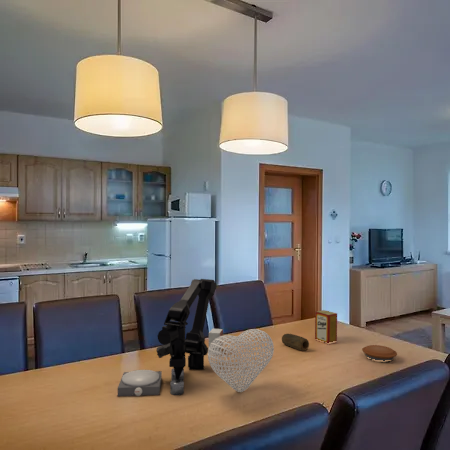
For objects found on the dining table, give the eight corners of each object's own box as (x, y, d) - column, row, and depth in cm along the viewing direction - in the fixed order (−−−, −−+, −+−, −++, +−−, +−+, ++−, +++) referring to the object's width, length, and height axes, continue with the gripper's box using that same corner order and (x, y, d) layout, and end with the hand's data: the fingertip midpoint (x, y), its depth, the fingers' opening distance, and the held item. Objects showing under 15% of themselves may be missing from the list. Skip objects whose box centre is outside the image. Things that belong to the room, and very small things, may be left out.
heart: (226, 410, 134) (226, 345, 134) (198, 394, 146) (199, 334, 146) (281, 388, 152) (282, 331, 152) (253, 376, 164) (254, 322, 164)
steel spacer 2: (183, 389, 151) (183, 379, 151) (183, 395, 146) (183, 384, 146) (170, 390, 150) (170, 379, 150) (170, 395, 145) (170, 384, 145)
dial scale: (161, 378, 161) (161, 368, 161) (159, 395, 145) (159, 384, 145) (123, 379, 159) (123, 369, 159) (117, 396, 144) (117, 385, 143)
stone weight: (311, 350, 199) (311, 337, 199) (301, 353, 195) (302, 339, 195) (288, 343, 211) (288, 330, 211) (279, 345, 206) (279, 332, 206)
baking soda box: (336, 342, 212) (337, 312, 212) (328, 344, 209) (328, 314, 209) (323, 338, 220) (323, 309, 220) (315, 339, 217) (315, 310, 217)
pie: (361, 361, 184) (361, 350, 184) (362, 351, 198) (363, 341, 198) (397, 366, 178) (397, 355, 178) (396, 355, 193) (396, 345, 193)
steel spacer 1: (183, 377, 163) (183, 367, 163) (183, 382, 158) (183, 372, 158) (171, 377, 162) (171, 367, 162) (171, 382, 157) (171, 372, 157)
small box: (219, 355, 190) (219, 333, 190) (208, 354, 191) (208, 332, 191) (222, 349, 198) (223, 328, 198) (212, 349, 199) (212, 328, 199)
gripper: (159, 331, 168) (158, 368, 168) (156, 345, 150) (155, 386, 150) (185, 331, 169) (185, 367, 169) (185, 345, 151) (185, 385, 151)
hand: (177, 376), depth 160 cm, fingers closed on steel spacer 1, 5 cm apart
